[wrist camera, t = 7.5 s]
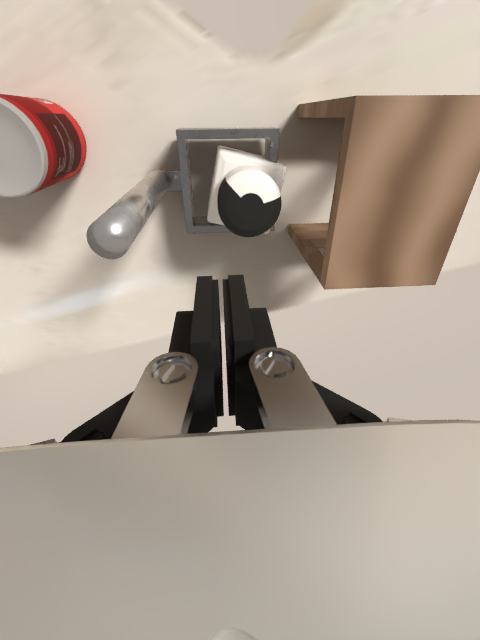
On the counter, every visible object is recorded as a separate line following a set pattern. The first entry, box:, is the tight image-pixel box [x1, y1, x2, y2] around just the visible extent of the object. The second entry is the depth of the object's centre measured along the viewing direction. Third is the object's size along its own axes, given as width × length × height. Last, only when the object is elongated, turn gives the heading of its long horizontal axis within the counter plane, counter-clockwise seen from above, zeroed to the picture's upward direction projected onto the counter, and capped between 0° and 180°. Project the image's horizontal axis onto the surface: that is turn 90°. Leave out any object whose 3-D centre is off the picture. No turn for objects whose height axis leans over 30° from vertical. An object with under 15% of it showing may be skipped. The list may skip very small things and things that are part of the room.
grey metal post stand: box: [87, 128, 279, 259], centre depth 27 cm, size 14×10×21 cm
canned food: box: [0, 94, 86, 198], centre depth 30 cm, size 8×8×11 cm
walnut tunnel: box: [288, 95, 480, 289], centre depth 31 cm, size 11×14×16 cm
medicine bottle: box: [207, 146, 286, 237], centre depth 33 cm, size 7×7×12 cm
